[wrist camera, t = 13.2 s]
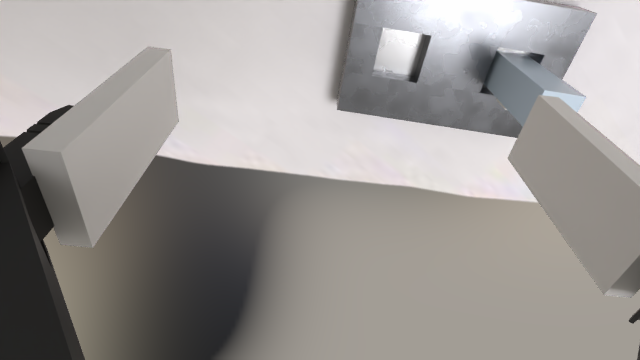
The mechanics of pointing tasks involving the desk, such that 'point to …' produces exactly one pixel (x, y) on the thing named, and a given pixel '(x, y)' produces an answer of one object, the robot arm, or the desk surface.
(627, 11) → the desk surface
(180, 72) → the desk surface
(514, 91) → the pale blue rectangular prism
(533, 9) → the dark grey base plate
